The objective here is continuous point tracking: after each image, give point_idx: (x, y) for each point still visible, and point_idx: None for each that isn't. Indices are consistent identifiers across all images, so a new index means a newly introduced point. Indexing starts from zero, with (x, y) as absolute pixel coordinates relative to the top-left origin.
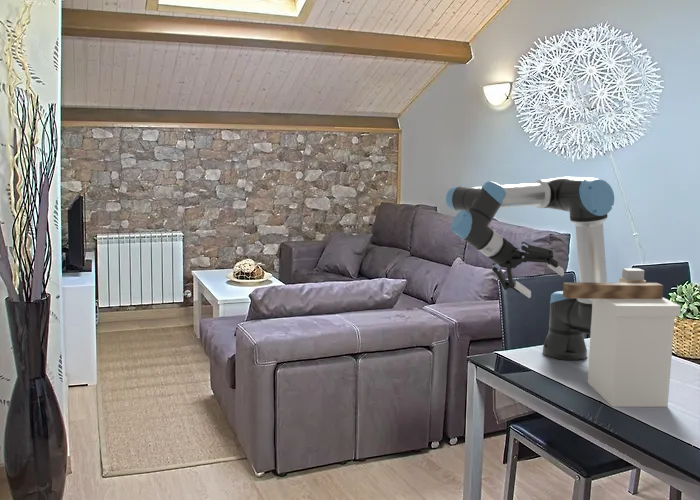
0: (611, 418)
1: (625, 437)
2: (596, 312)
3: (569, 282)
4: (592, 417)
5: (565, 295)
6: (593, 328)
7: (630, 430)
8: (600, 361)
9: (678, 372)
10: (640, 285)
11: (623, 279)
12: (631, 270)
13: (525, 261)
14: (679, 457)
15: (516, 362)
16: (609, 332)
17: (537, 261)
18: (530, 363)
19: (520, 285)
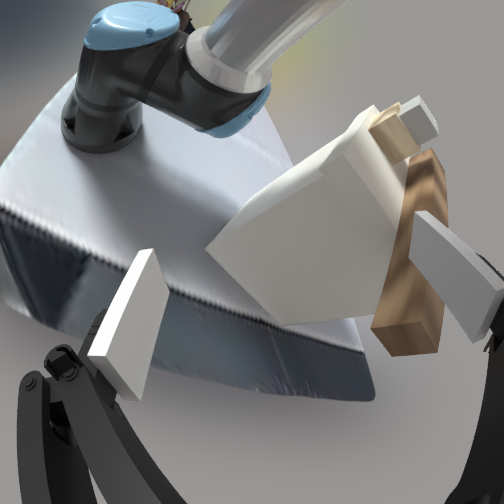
0: (300, 365)
1: (330, 397)
2: (328, 213)
3: (425, 301)
4: (286, 385)
5: (390, 345)
6: (284, 219)
7: (326, 376)
8: (279, 276)
9: (260, 125)
10: (446, 195)
11: (409, 135)
12: (437, 129)
13: (455, 501)
14: (366, 387)
15: (40, 228)
16: (358, 288)
17: (487, 403)
18: (66, 213)
19: (132, 330)
